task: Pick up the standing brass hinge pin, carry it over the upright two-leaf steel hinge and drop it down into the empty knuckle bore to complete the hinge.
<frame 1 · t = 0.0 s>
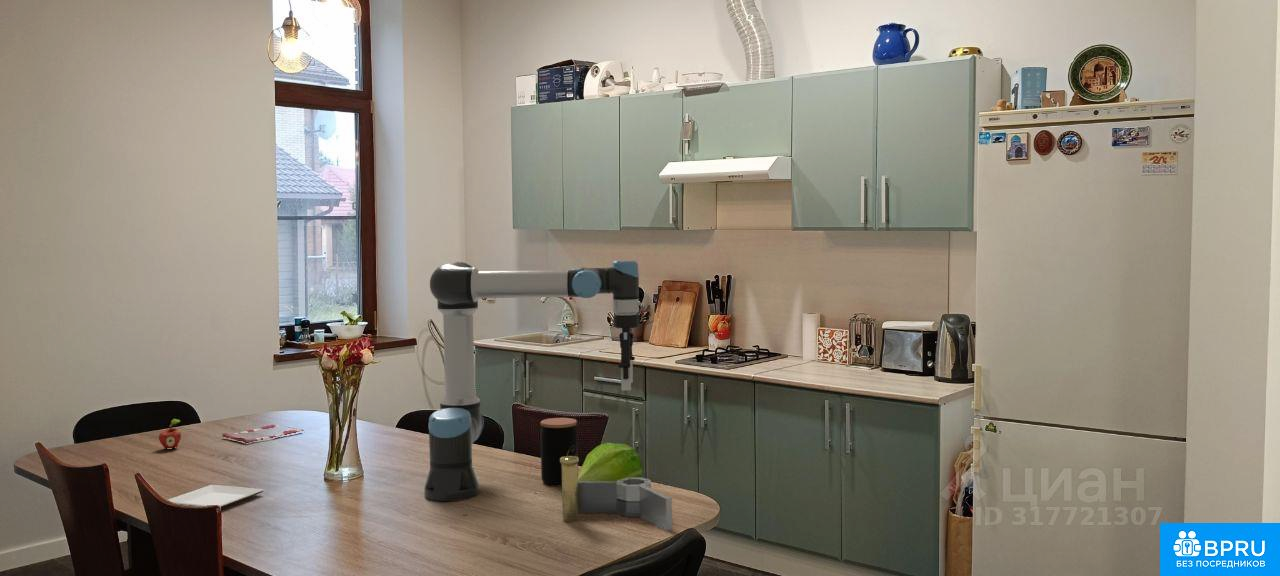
hand: (627, 386, 289), 28 cm above the table, fingers open, 13 cm apart
dish towel: (263, 438, 362), on the table
pin: (570, 520, 253), on the table
hinge: (634, 511, 259), on the table
apple: (171, 449, 342), on the table
lettuce: (608, 494, 277), on the table
coffee jar: (559, 482, 291), on the table
plate: (214, 503, 275), on the table
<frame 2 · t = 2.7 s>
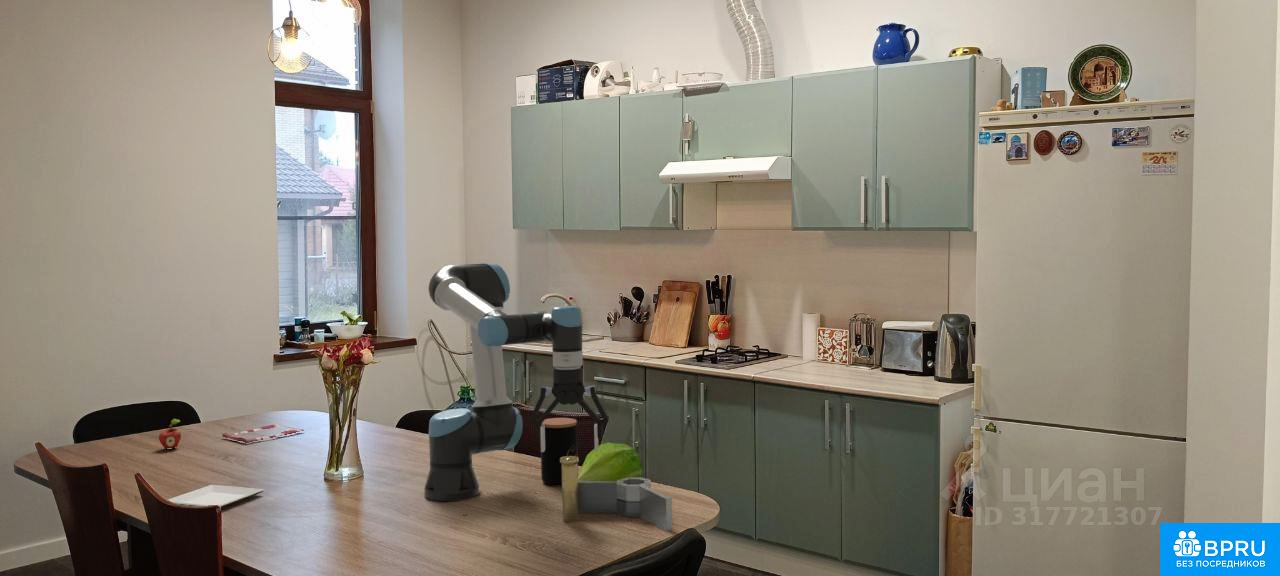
hand: (569, 450, 251), 18 cm above the table, fingers open, 13 cm apart
nothing on the table moved.
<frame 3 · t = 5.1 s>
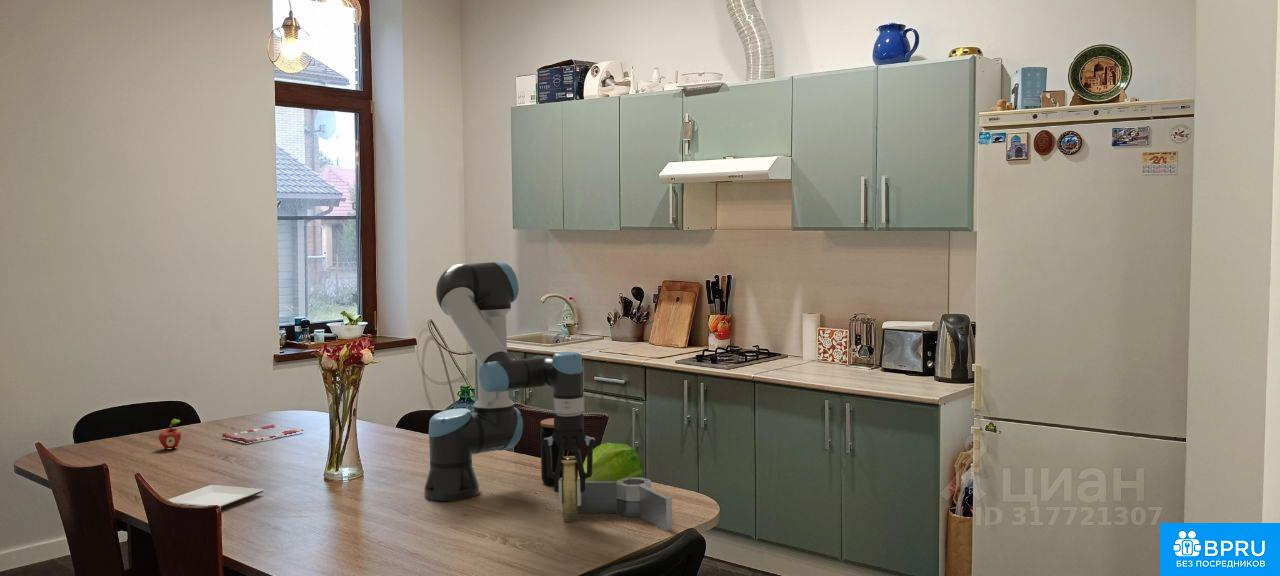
hand: (570, 504, 253), 4 cm above the table, fingers closed on pin, 4 cm apart
pin: (570, 520, 253), on the table, touching gripper
everything else where it was.
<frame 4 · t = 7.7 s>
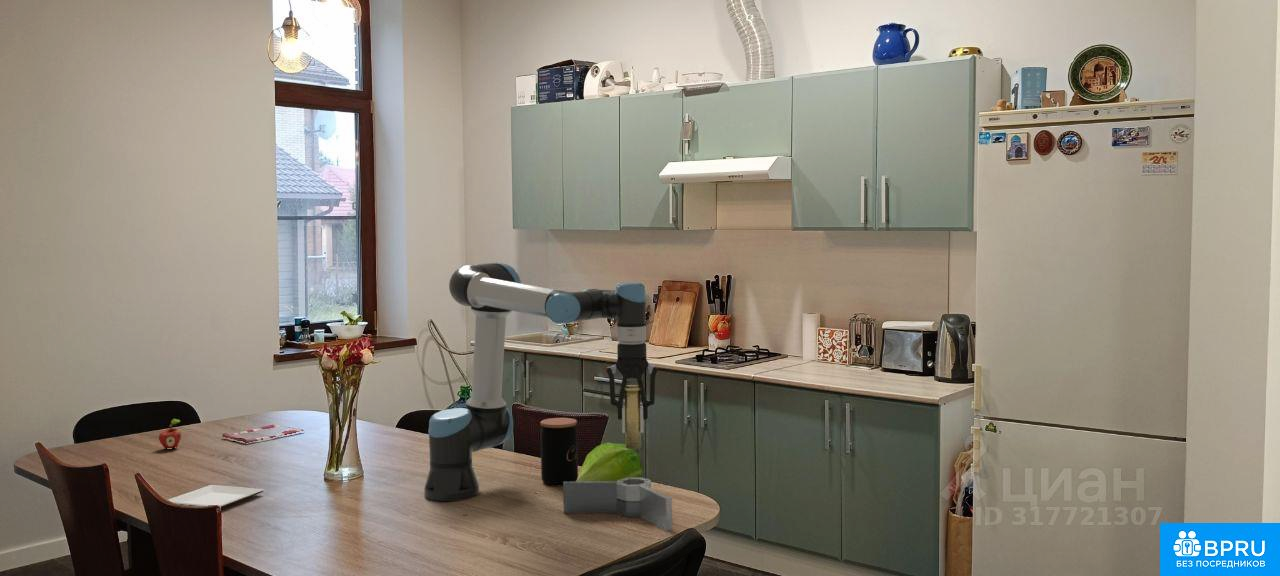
hand: (633, 431, 258), 21 cm above the table, fingers closed on pin, 4 cm apart
pin: (633, 447, 258), point 17 cm above the table, touching gripper
everything else where it was.
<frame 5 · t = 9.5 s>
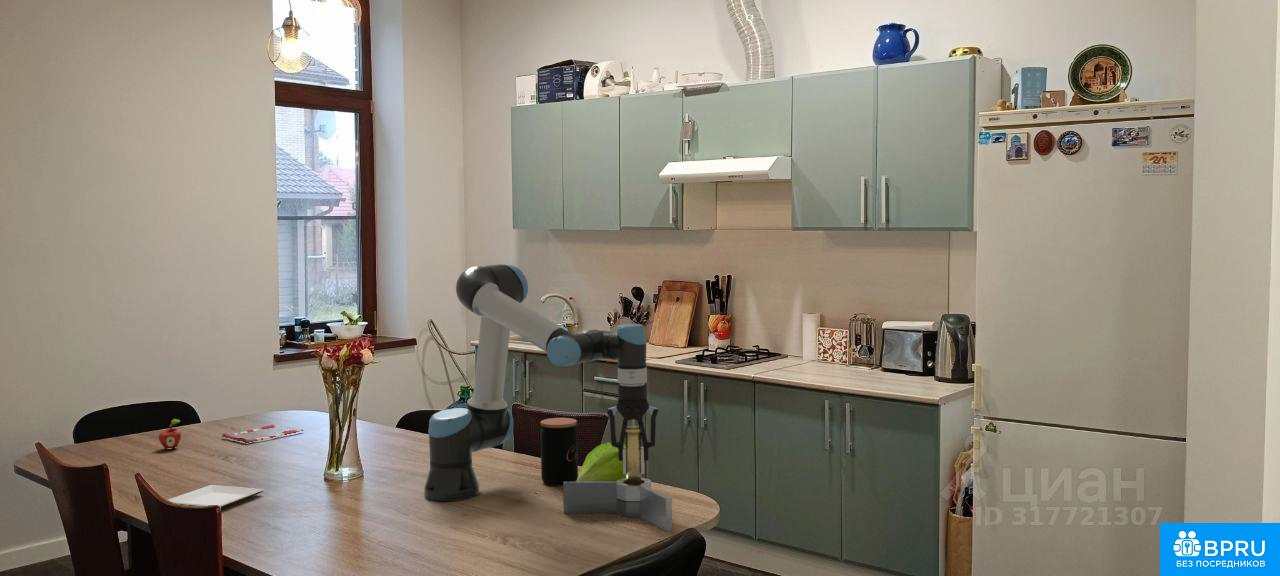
hand: (633, 472, 259), 10 cm above the table, fingers closed on pin, 4 cm apart
pin: (634, 488, 259), point 6 cm above the table, touching gripper
everything else where it was.
when the fingers open (10 cm above the table, at t = 10.7 s): pin drops 5 cm, resting in hinge.
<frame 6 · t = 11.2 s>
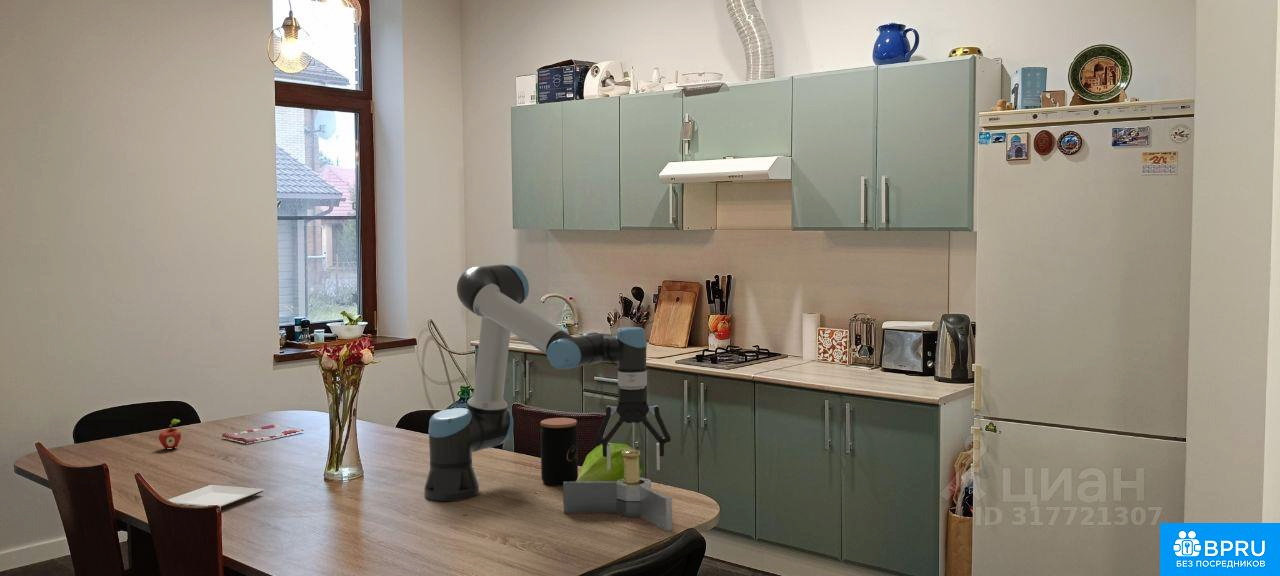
hand: (633, 468, 259), 11 cm above the table, fingers open, 12 cm apart
pin: (633, 511, 259), resting in hinge
everything else where it was.
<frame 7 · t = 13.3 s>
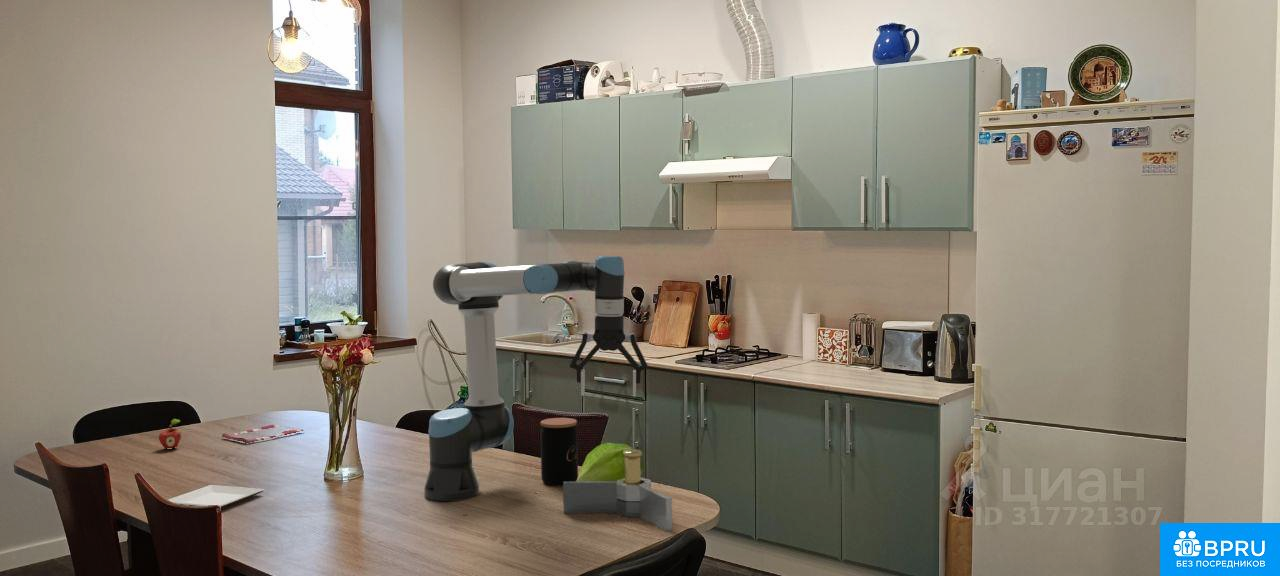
hand: (608, 395, 260), 30 cm above the table, fingers open, 13 cm apart
nothing on the table moved.
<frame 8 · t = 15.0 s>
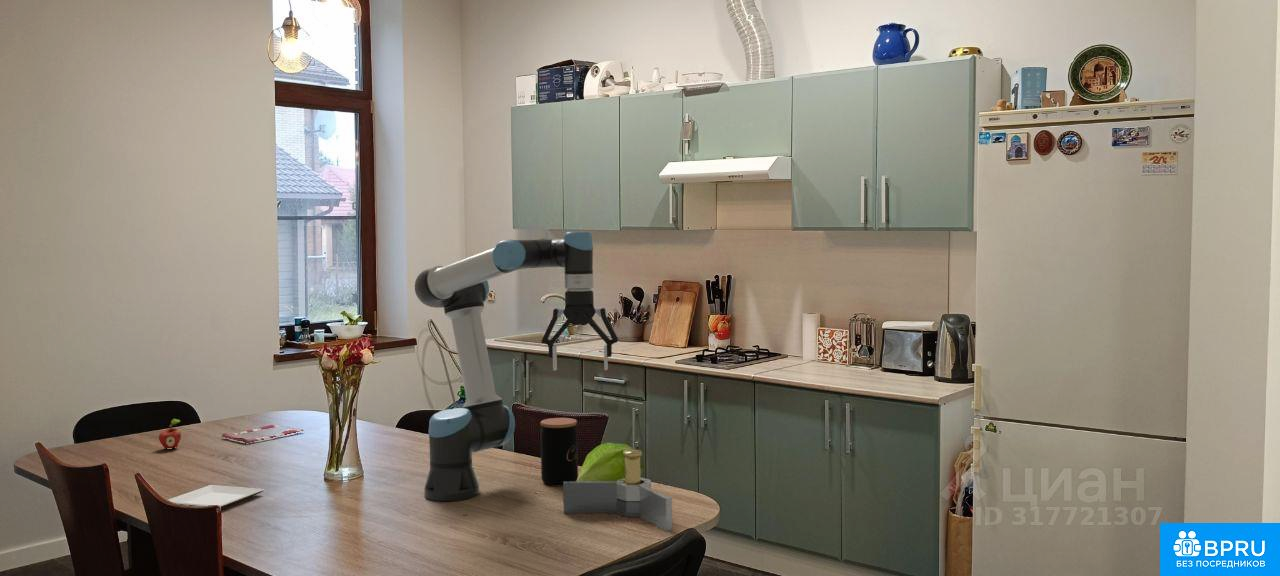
hand: (580, 369, 263), 37 cm above the table, fingers open, 13 cm apart
nothing on the table moved.
at the end: pin 0.3 cm off-centre on the hinge, point 0.0 cm above the hinge's base; pin tilted 0°; the gripper is holding nothing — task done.
